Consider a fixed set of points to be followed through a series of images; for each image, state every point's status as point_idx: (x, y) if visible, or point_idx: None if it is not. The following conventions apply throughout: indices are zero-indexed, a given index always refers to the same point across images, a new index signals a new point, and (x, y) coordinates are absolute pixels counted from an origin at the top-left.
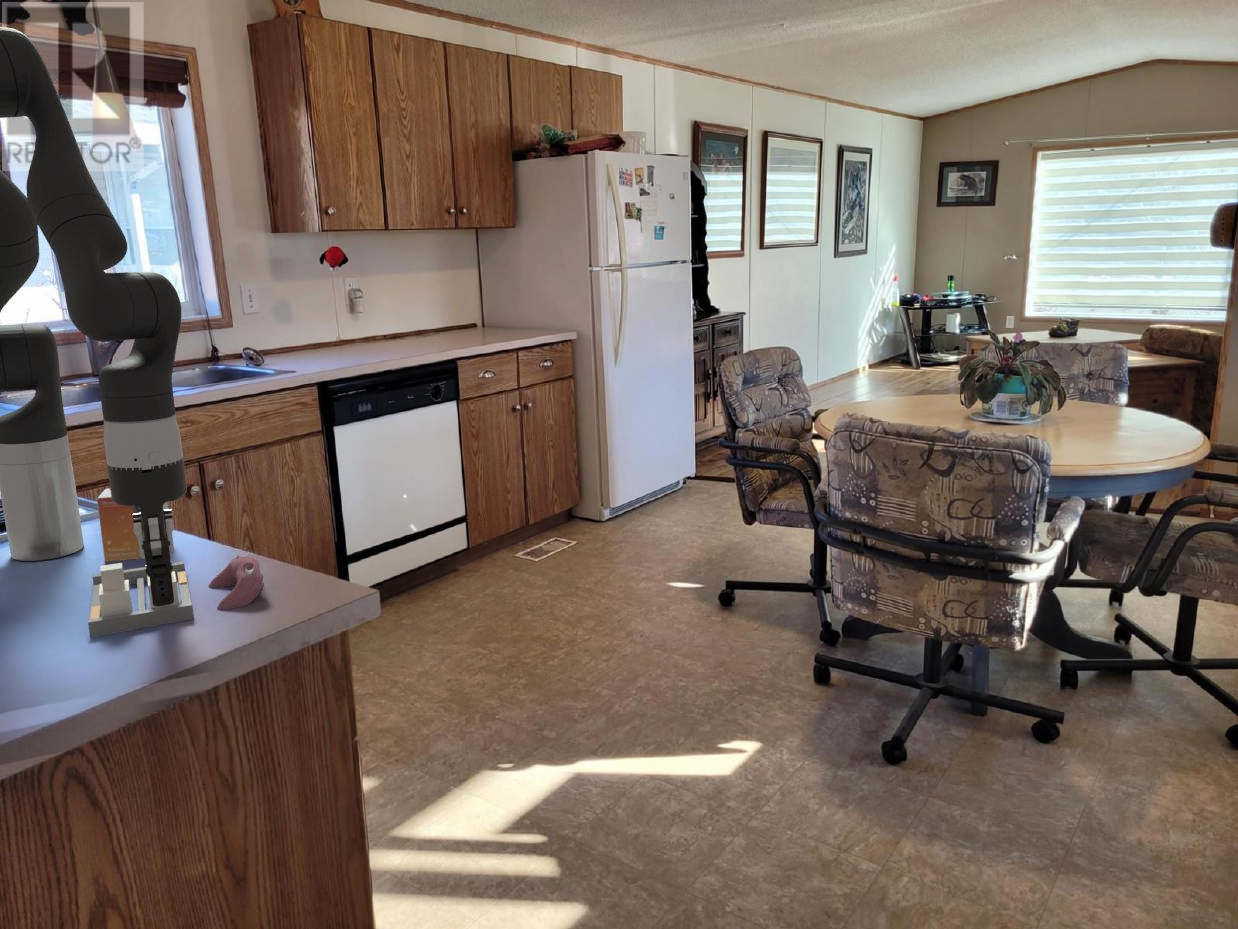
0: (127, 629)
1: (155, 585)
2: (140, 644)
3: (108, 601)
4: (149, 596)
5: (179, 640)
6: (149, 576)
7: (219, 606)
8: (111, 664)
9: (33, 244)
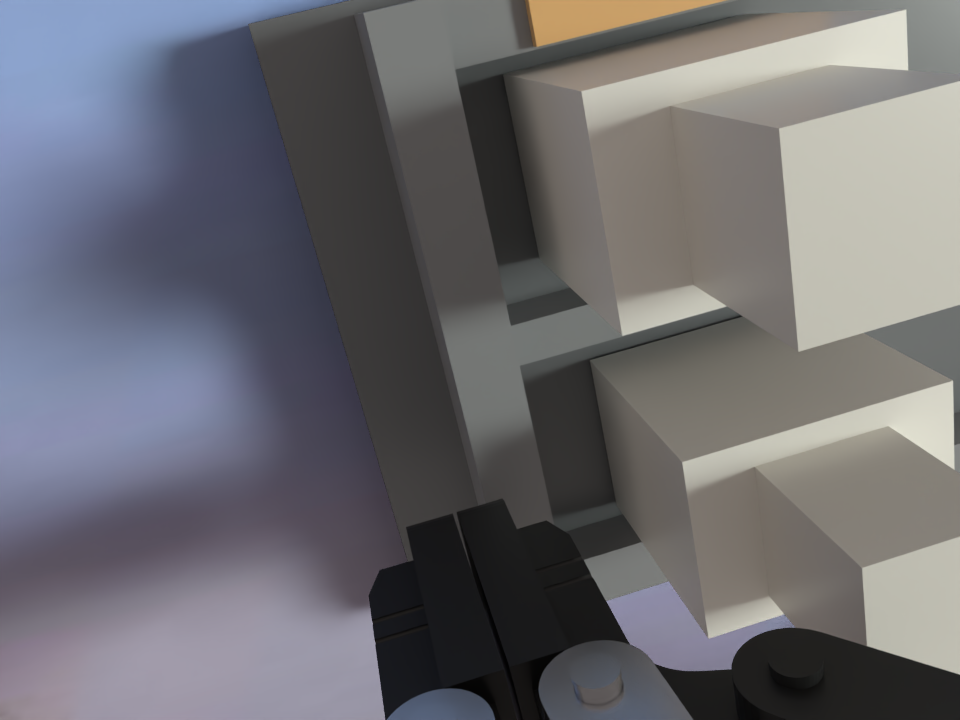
0: (416, 257)
1: (385, 685)
2: (330, 324)
3: (574, 153)
4: (647, 423)
5: (341, 525)
6: (403, 715)
7: None
8: (28, 230)
9: None
